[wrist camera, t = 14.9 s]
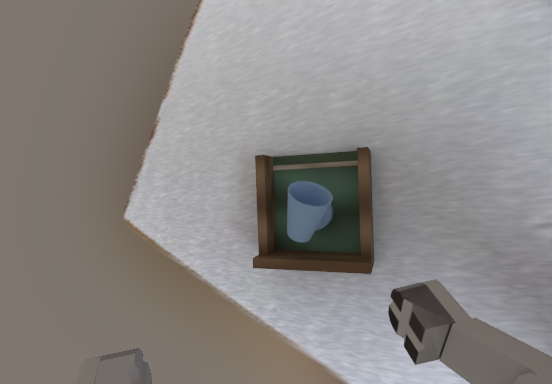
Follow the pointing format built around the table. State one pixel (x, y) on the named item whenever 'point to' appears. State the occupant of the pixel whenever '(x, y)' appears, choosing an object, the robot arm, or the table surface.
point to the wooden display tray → (338, 233)
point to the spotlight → (307, 209)
